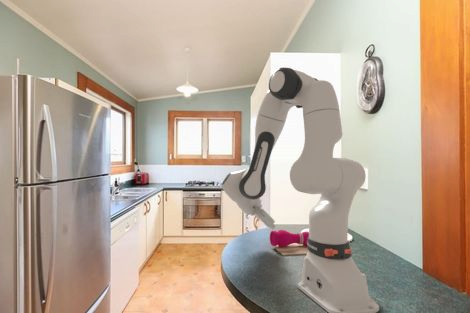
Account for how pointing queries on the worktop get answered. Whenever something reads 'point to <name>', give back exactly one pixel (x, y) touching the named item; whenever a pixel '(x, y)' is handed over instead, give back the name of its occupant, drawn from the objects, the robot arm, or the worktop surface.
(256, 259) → the worktop surface
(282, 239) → the pepper mill
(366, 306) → the robot arm
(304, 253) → the wooden board
